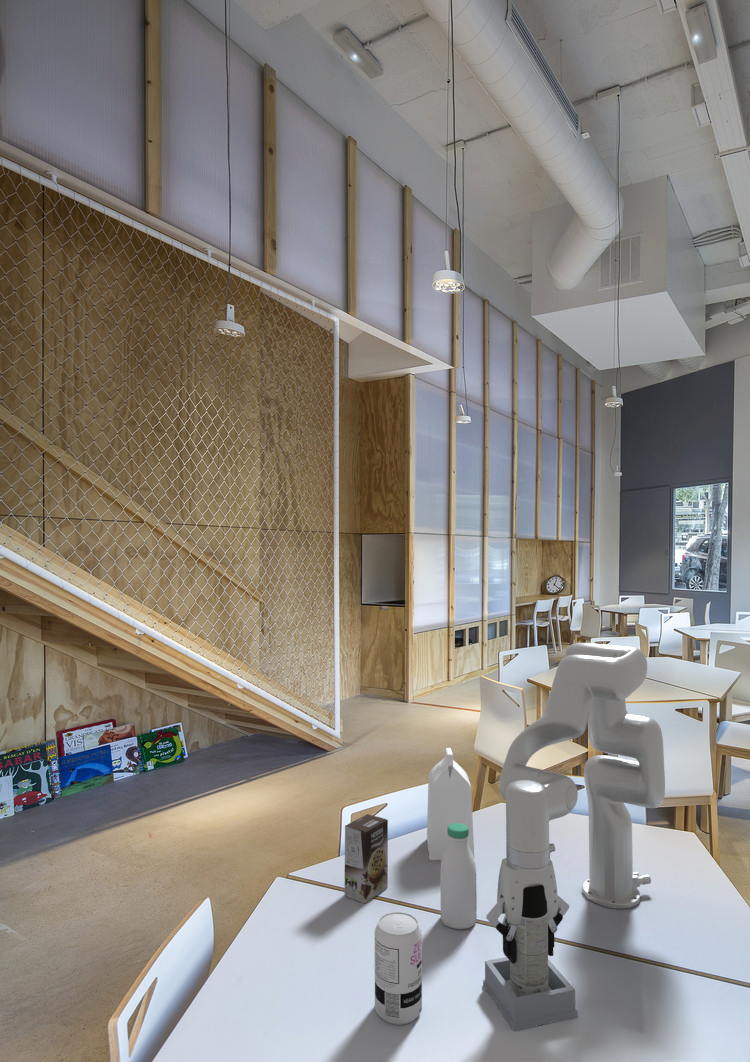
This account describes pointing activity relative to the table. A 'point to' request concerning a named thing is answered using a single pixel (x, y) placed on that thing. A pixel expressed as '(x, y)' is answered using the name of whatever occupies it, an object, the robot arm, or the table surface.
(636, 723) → the robot arm
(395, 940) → the supplement can
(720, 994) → the table surface
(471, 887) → the milk bottle
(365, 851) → the coffee box
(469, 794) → the milk
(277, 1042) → the table surface
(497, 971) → the holder
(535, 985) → the spray can
